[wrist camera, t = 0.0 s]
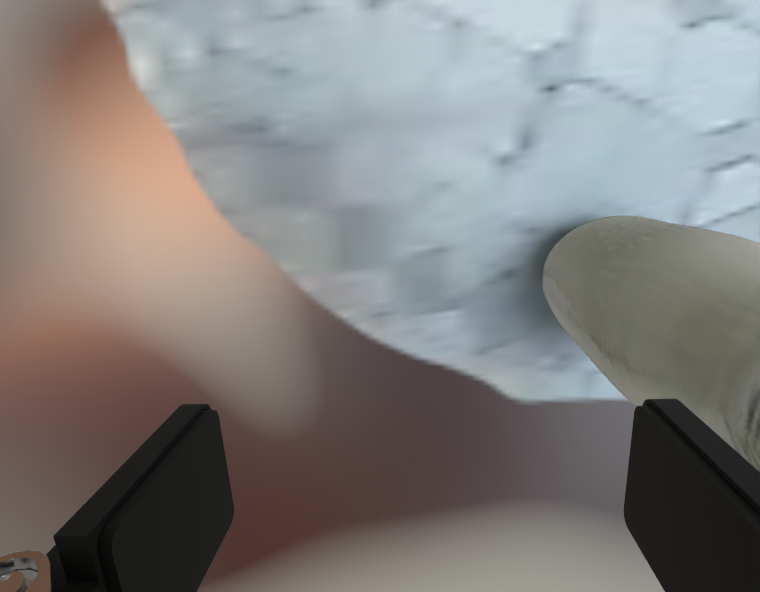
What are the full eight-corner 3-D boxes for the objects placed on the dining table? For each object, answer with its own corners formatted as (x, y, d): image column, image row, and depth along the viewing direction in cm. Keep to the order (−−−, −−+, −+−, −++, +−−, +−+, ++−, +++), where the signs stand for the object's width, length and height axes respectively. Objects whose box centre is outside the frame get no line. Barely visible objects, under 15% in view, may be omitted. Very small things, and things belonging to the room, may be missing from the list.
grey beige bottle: (551, 337, 42) (798, 649, 15) (516, 234, 39) (733, 381, 13) (662, 300, 40) (1167, 574, 13) (632, 189, 38) (1170, 248, 11)
